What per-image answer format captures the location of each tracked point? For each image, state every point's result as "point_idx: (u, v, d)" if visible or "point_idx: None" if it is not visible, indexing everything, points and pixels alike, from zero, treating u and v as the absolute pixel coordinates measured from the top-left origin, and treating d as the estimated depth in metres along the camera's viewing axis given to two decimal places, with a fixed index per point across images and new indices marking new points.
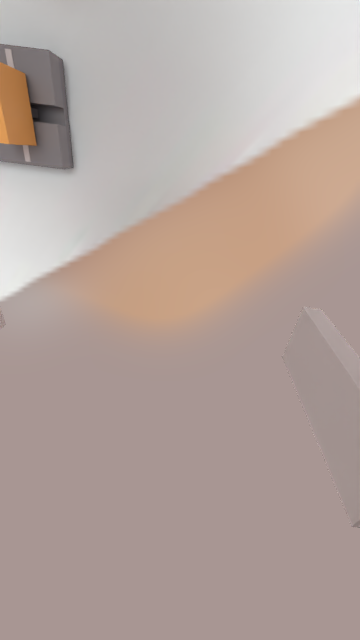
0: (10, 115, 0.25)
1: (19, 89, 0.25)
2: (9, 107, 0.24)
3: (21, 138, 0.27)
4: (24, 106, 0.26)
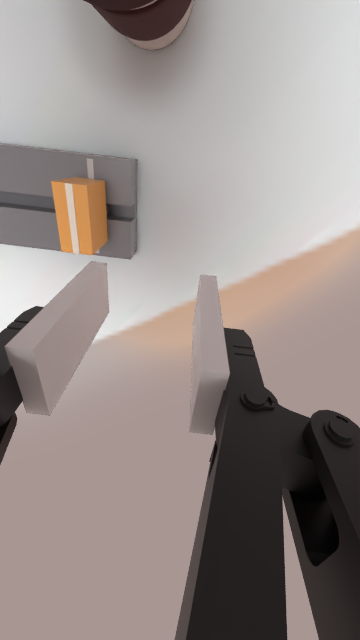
0: (94, 228, 0.25)
1: (100, 198, 0.25)
2: (94, 220, 0.24)
3: (99, 242, 0.27)
4: (103, 211, 0.26)
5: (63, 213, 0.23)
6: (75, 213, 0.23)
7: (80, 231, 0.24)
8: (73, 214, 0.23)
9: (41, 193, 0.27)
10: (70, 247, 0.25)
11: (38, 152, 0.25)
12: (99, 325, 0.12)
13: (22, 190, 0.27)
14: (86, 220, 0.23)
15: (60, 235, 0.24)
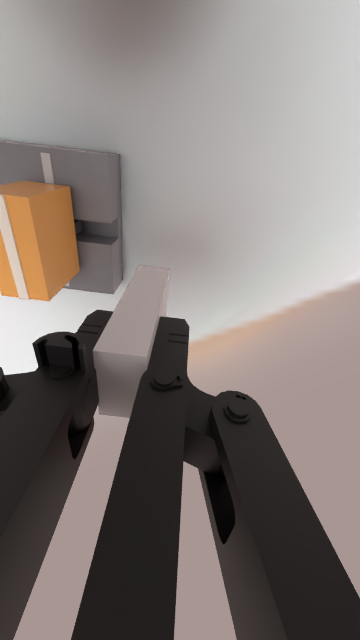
0: (51, 260, 0.16)
1: (62, 213, 0.17)
2: (50, 250, 0.16)
3: (63, 278, 0.18)
4: (67, 232, 0.18)
5: None
6: (15, 240, 0.14)
7: (27, 267, 0.15)
8: (12, 243, 0.14)
9: None
10: (15, 289, 0.16)
11: None
12: None
13: None
14: (34, 251, 0.15)
15: None
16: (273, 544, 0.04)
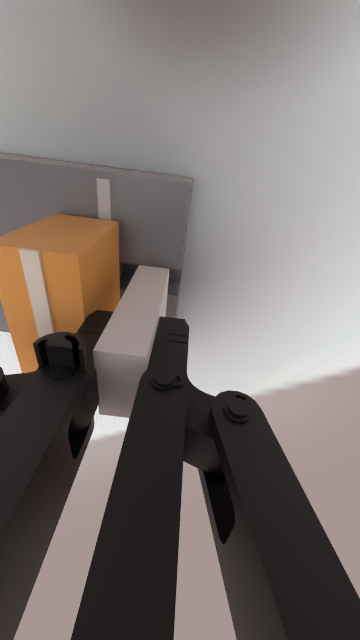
0: None
1: (110, 261, 0.12)
2: None
3: None
4: (113, 282, 0.13)
5: (22, 312, 0.10)
6: (51, 312, 0.09)
7: None
8: (45, 315, 0.10)
9: None
10: None
11: None
12: None
13: None
14: (77, 326, 0.10)
15: (19, 352, 0.11)
16: (273, 544, 0.04)
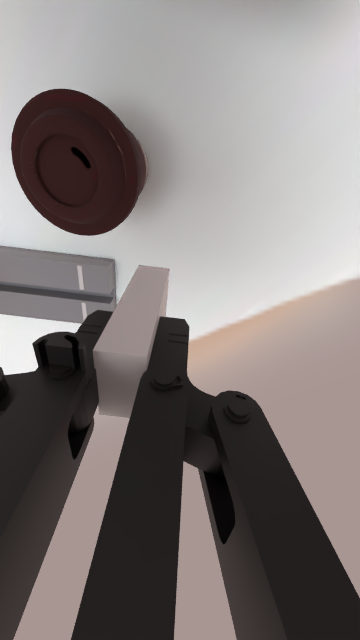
0: None
1: None
2: None
3: None
4: None
5: None
6: None
7: None
8: None
9: (44, 285, 0.38)
10: None
11: (42, 261, 0.36)
12: None
13: (31, 283, 0.38)
14: None
15: None
16: (273, 544, 0.04)
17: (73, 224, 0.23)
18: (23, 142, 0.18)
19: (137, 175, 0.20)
